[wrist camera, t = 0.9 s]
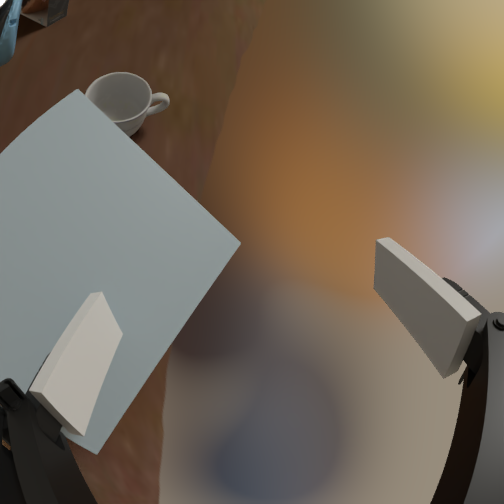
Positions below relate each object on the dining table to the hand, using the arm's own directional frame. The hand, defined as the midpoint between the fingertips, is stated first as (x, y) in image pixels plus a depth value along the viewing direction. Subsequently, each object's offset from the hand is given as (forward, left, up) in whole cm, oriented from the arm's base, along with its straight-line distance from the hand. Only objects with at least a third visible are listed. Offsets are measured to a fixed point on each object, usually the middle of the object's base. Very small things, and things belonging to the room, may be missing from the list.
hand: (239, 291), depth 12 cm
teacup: (-22, +18, -30) cm, 41 cm away
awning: (-8, -5, -30) cm, 31 cm away
